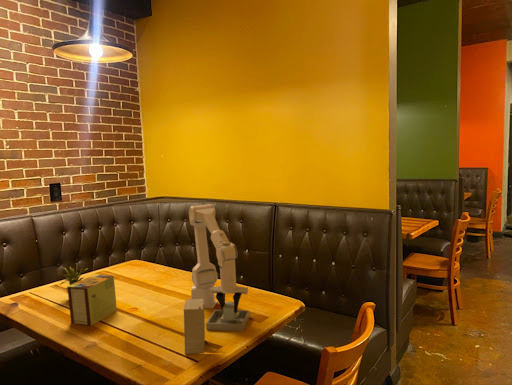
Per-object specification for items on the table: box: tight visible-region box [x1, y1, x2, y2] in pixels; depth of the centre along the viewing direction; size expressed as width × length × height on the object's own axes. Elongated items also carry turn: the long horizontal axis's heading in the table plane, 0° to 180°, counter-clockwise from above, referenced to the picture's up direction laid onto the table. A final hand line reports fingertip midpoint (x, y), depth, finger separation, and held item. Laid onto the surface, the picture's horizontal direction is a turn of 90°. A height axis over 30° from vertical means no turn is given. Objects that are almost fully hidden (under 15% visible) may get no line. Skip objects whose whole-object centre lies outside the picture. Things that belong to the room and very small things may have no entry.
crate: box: [205, 309, 251, 332], centre depth 143 cm, size 14×12×3 cm
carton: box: [223, 301, 236, 319], centre depth 142 cm, size 4×6×4 cm, turn 171°
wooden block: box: [221, 312, 240, 324], centre depth 142 cm, size 6×6×4 cm
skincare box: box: [183, 298, 206, 355], centre depth 126 cm, size 8×7×16 cm
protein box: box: [66, 273, 118, 327], centre depth 155 cm, size 10×15×16 cm
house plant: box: [59, 266, 89, 293], centre depth 175 cm, size 14×14×16 cm
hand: (230, 311), depth 141 cm, fingers closed on carton, 4 cm apart
